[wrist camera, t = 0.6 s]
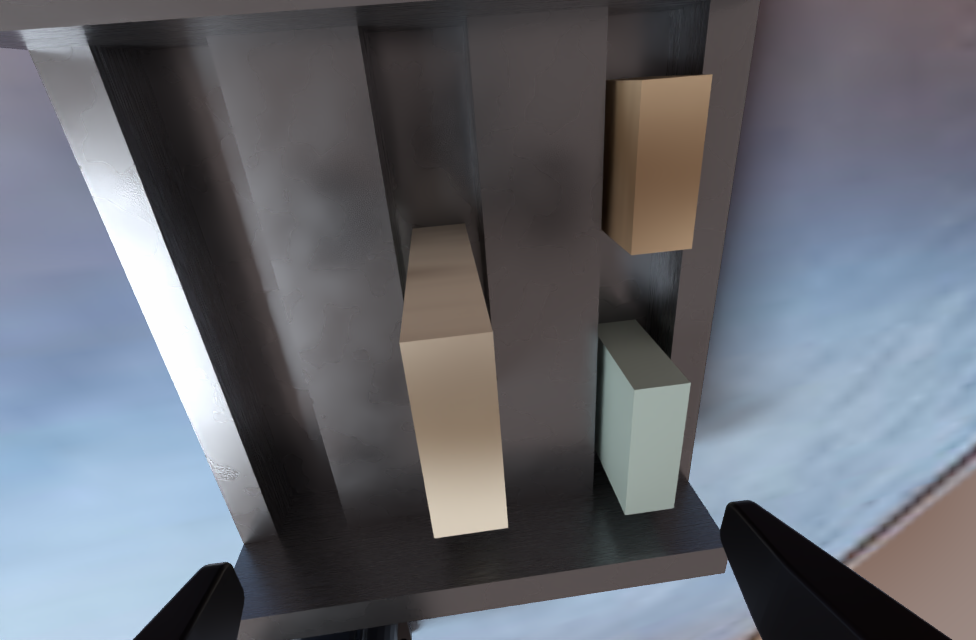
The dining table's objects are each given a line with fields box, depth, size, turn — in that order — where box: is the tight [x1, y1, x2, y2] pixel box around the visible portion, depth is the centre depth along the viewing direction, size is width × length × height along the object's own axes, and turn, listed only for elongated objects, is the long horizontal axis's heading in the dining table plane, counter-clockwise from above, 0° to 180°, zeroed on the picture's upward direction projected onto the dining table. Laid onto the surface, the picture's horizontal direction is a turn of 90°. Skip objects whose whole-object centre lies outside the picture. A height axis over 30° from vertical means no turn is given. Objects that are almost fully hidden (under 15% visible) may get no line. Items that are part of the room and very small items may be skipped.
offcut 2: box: [594, 320, 691, 515], centre depth 20 cm, size 6×2×5 cm, turn 4°
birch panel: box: [399, 223, 508, 538], centre depth 16 cm, size 6×2×9 cm, turn 4°
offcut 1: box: [601, 74, 713, 255], centre depth 16 cm, size 5×2×4 cm, turn 4°
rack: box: [0, 0, 760, 640], centre depth 17 cm, size 22×20×7 cm
